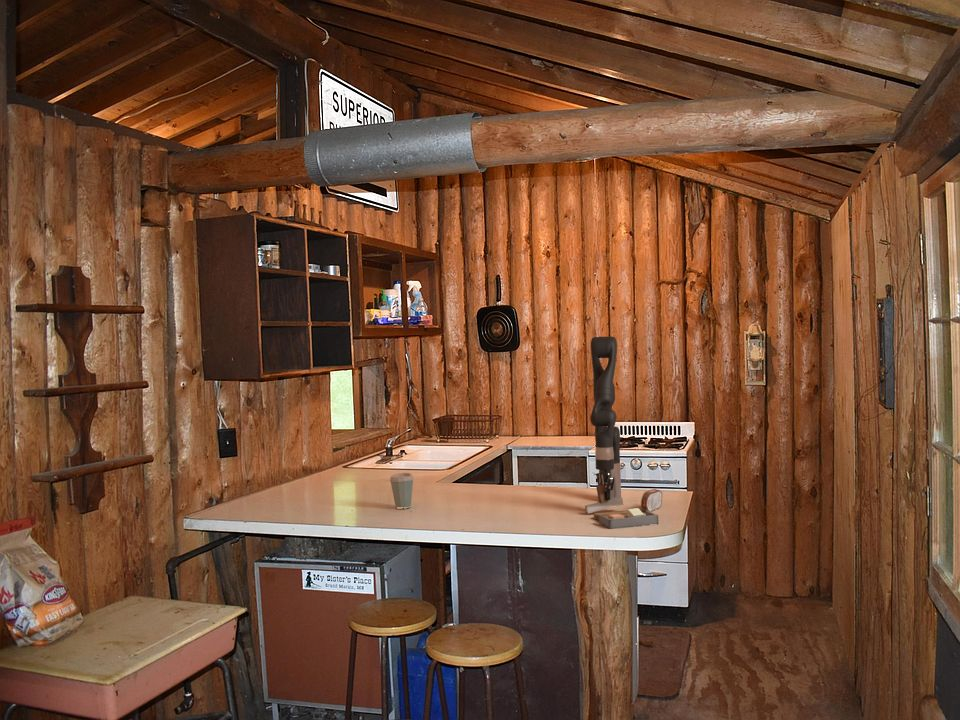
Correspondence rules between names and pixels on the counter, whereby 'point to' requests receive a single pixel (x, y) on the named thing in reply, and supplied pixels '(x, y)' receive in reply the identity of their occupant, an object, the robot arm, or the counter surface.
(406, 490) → the disposable coffee cup
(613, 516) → the salmon pink cube
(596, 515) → the walnut board
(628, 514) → the cream block
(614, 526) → the box
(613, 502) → the cube on grey rod
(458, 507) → the counter surface
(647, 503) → the tin
